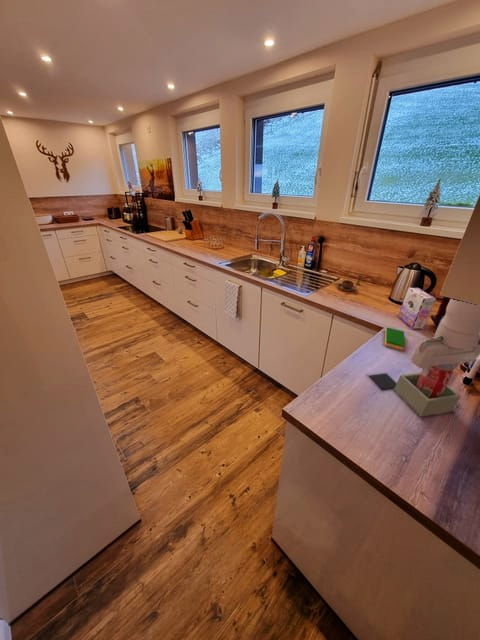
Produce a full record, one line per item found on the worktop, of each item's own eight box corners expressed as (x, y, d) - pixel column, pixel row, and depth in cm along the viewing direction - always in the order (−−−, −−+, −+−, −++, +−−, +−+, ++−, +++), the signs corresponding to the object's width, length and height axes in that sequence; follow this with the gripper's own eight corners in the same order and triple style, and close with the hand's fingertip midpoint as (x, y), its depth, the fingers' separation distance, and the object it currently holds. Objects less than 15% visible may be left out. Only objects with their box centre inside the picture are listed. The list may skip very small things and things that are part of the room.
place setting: (331, 284, 178) (333, 276, 175) (358, 283, 181) (360, 275, 178) (344, 294, 163) (347, 285, 160) (373, 293, 166) (376, 284, 163)
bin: (422, 385, 92) (429, 371, 89) (451, 411, 82) (461, 396, 79) (393, 389, 90) (400, 375, 87) (420, 416, 80) (428, 401, 77)
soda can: (437, 389, 86) (452, 360, 80) (442, 404, 80) (458, 374, 75) (413, 383, 89) (425, 354, 83) (415, 397, 83) (429, 367, 77)
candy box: (423, 329, 127) (437, 298, 119) (411, 329, 127) (424, 298, 119) (408, 316, 139) (419, 287, 131) (397, 315, 139) (407, 286, 131)
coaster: (385, 374, 97) (386, 373, 97) (399, 387, 91) (399, 386, 91) (369, 376, 96) (369, 375, 96) (381, 389, 90) (382, 389, 90)
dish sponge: (402, 335, 122) (404, 331, 121) (403, 350, 111) (405, 346, 110) (385, 331, 125) (387, 327, 123) (384, 345, 114) (386, 341, 113)
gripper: (433, 345, 69) (415, 384, 76) (495, 338, 73) (473, 376, 80) (414, 333, 75) (399, 371, 81) (473, 326, 79) (454, 363, 85)
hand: (436, 373), depth 81 cm, fingers closed on soda can, 7 cm apart
